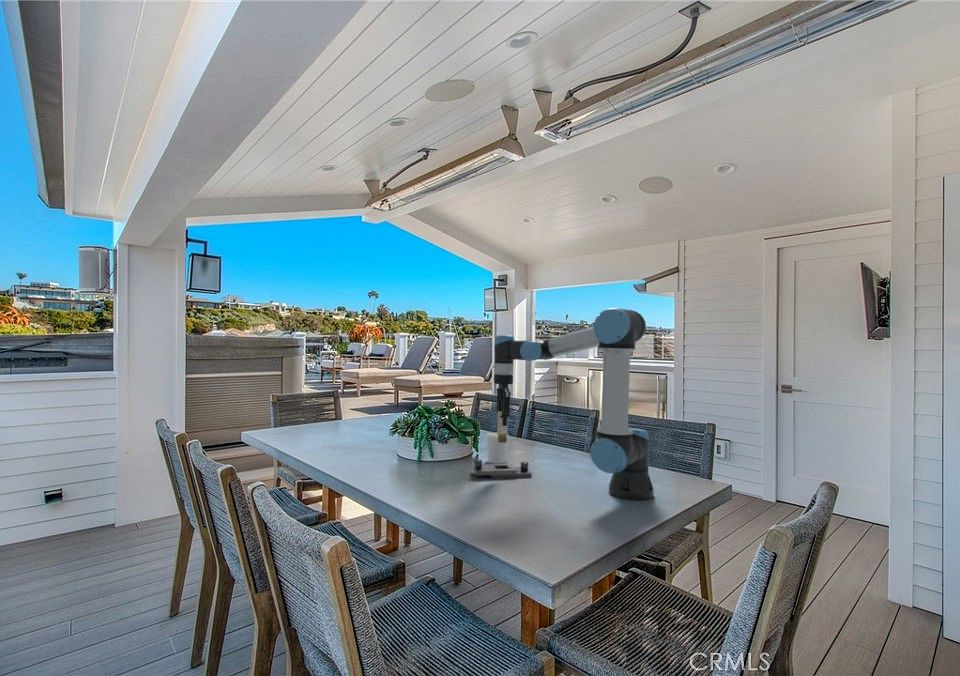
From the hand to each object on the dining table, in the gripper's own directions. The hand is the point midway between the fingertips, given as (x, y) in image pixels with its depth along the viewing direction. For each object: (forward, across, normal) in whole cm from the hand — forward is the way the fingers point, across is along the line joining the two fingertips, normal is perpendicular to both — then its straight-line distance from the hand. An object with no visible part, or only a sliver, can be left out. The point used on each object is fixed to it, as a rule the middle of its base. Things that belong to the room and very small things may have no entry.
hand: (502, 432), depth 192 cm
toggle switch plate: (+17, -1, 0) cm, 17 cm away
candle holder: (+17, -22, +3) cm, 28 cm away
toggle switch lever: (+4, 0, 0) cm, 4 cm away
